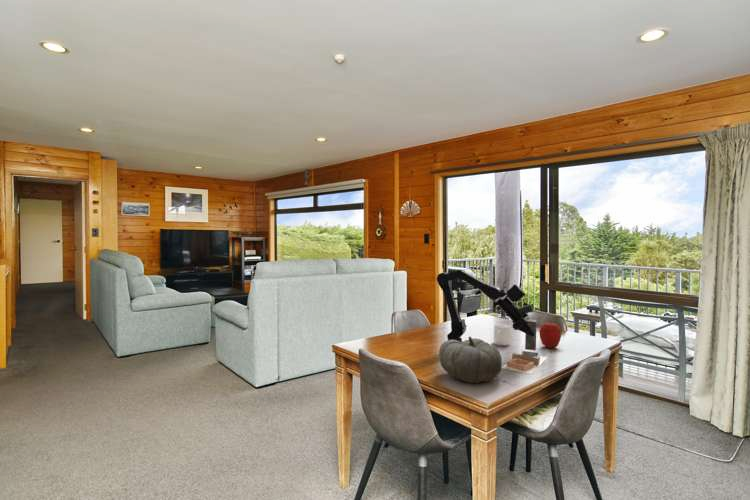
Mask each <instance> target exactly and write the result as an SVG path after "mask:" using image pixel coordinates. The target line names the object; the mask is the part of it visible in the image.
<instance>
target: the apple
mask: <svg viewBox="0 0 750 500" xmlns="http://www.w3.org/2000/svg"><path fill="white" fill-rule="evenodd" d="M539 339H540V341H541V344H542V345H543V346H544V347H545V348H547V349H555V348H556V347H558V346H559V344H560V341H561V339H562V330H561V327H560V326H559V325H558V324H557V323H554V322H546V323H543V324H542V325H541V327H540V329H539Z"/></svg>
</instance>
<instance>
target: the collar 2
mask: <svg viewBox="0 0 750 500" xmlns="http://www.w3.org/2000/svg"><path fill="white" fill-rule="evenodd" d="M520 353H521V354H523V355H528V356H534V357H539V361H540V356H541V352H536V351H530V350H528V351H527V350H521V352H520Z"/></svg>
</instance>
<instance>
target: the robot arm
mask: <svg viewBox="0 0 750 500" xmlns="http://www.w3.org/2000/svg"><path fill="white" fill-rule="evenodd" d="M457 279H460V280H462V281H464V282H465V283H468V285H471V286H472V287H475V288H476V289H477V290H480V292H482V293H483V294H484V295H485V296H486V297H487V298H489V299H490V300H491V301H492V300H493V308H497V307H499V308H500V310H502V311H503V313H504V314H505V316H506V317H508V318H509V319H510V320H511V321H512V322H511V323H512V328H513V330H514V331H519V332H522V333H524V334H525V335H526V334H528V335H530V336H532V337H533V336H535V335H534V333H533V332H532V330H531V329H530V327H529V326H528V320H526V319H529V320H530V317H529V314H528V313H532V312H534V308H533V306H532V303H528V302H524V303H523V304H522V306H520V307H519V306H518V305H515V304H514V303H518V302H519V301H521V299H522V298H524V297H526V295H527V293H526V292H525V290H523V289H522V288H521V287H520V286H519V285H517V284H516V283H514V284H513V285H512V286H511V287H510V288H509V289H508V290H505V289H501V288H500V287H499V286H496V285H494V284H490V283H486V282H485V281H482V280H481V279H479V278H478V277H476V276H473V275H472V274H470V273H468V272H466V271H465V270H463V269H458V270H456V271H451V272H447V271H443V272H440V273H438V274H437V276H436V281H437V284H438V285H439V287H440V289H441V291H442V292H443V295H444V300H445V303H446V306H447V309H448V313H449V316H450V328H451V331H450V332H449V333H448V334H446V338H447V341H448V340H457V341H460V342H463V338H462V336H463V335H464V334H465V333H466V331H467V326H468V325H467V324H466V319H465V318H463V319H462V317H461V316H460V313H459V310H458V307H457V303H456V300H455V295H454V293H453V289H452V287H453V286H452V285H453V283H452V281H453V280H457ZM495 300H496V301H495Z"/></svg>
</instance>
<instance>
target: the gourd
mask: <svg viewBox="0 0 750 500" xmlns="http://www.w3.org/2000/svg"><path fill="white" fill-rule="evenodd" d="M438 354H439V355H438V356H439V357H438V358H439V363H440V365H441V367H442V369H443V370H444V371H445V372H446V373H447V374H448V375H450V376H451V377H454V378H455V379H456V380H461V381H463V382H466V383H469V384H470V383H475V384H477V383H481V382H484V383H485V382H490V381H492V380H494V379H496V378H497V377H498V376H499V374H500V372H501V370H502V368H501V367H503V366H502V363H503V362H502V356H501V353H500V351H499V350H498V349H497V348H496V347H494V346H492V345H490V343H488V342H486V341H484V339H483V340H482V339H480V338H475V337H474V338H472V337H471V336H468V339H465V340H464V341H463V340H462V342H460V341H457V340H448V339H447V340H445V341H444V342H443V343H442V344H441V345H440V347H439V351H438Z"/></svg>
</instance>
